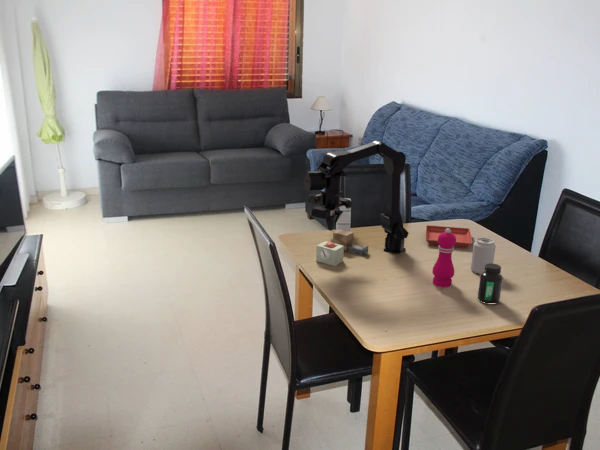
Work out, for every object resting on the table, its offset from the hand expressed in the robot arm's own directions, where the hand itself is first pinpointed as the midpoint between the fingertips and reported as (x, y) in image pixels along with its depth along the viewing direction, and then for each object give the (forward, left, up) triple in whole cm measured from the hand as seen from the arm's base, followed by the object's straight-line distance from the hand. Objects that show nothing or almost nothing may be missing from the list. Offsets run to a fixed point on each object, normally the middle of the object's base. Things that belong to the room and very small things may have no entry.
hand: (330, 230), depth 216 cm
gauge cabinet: (0, 0, -12) cm, 12 cm away
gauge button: (0, 0, -9) cm, 9 cm away
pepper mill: (-41, -7, -12) cm, 43 cm away
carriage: (+3, -14, -12) cm, 19 cm away
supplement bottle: (-58, -4, -12) cm, 59 cm away
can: (-48, -26, -12) cm, 56 cm away
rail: (0, -14, -12) cm, 19 cm away
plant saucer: (-26, -49, -13) cm, 57 cm away
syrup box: (+12, -29, -12) cm, 34 cm away
